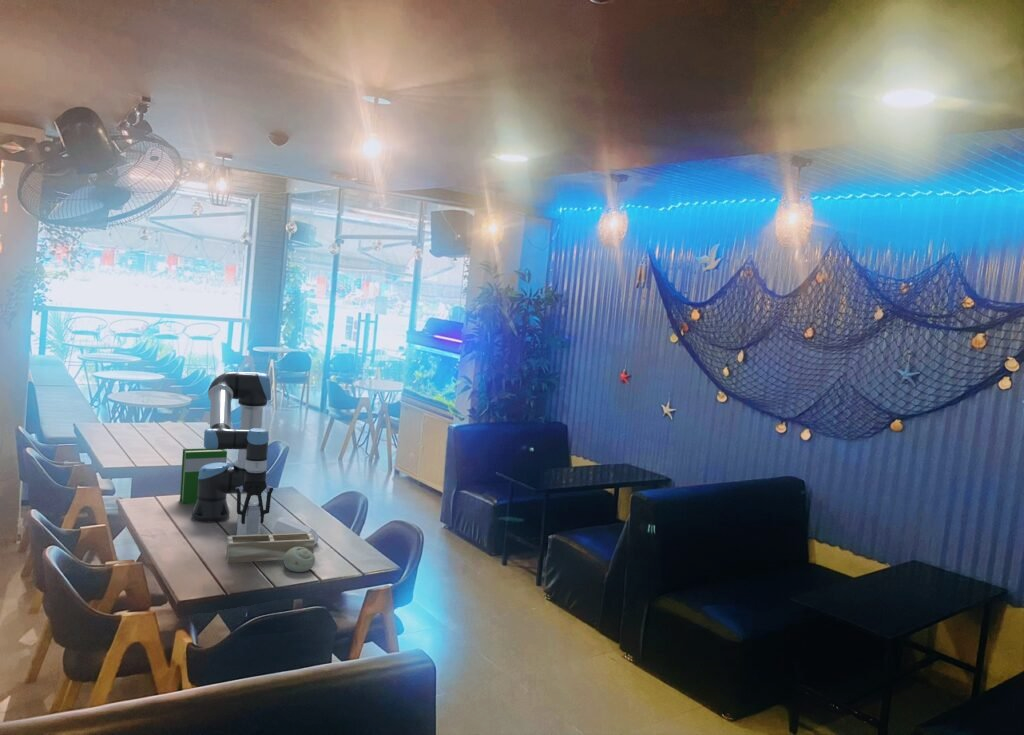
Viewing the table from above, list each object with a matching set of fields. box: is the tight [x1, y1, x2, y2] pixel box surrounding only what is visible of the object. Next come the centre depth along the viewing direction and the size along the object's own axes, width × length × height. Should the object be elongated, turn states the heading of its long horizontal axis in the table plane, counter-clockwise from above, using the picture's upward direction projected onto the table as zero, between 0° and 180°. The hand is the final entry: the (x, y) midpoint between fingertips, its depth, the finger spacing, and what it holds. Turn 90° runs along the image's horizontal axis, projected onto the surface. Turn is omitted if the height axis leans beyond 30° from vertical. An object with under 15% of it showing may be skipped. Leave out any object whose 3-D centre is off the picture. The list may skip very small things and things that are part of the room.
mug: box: [236, 509, 262, 535], centre depth 292 cm, size 12×9×11 cm
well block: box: [226, 532, 315, 564], centre depth 275 cm, size 10×30×7 cm, turn 114°
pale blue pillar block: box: [246, 501, 260, 534], centre depth 270 cm, size 6×4×11 cm, turn 24°
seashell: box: [283, 547, 316, 573], centre depth 266 cm, size 13×8×10 cm
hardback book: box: [179, 447, 228, 505], centre depth 335 cm, size 18×7×24 cm, turn 124°
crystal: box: [272, 516, 319, 546], centre depth 297 cm, size 7×7×24 cm
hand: (251, 531), depth 272 cm, fingers closed on pale blue pillar block, 4 cm apart
